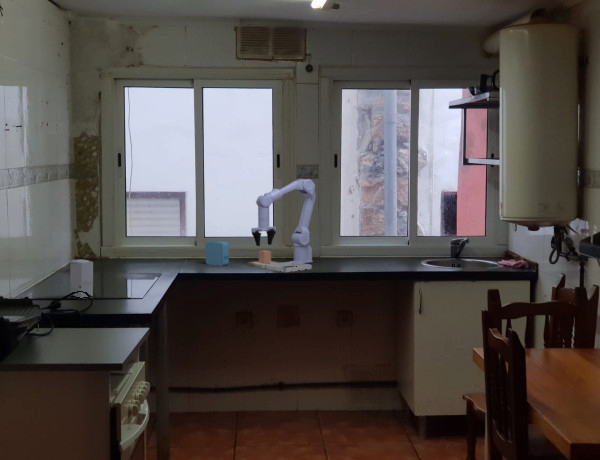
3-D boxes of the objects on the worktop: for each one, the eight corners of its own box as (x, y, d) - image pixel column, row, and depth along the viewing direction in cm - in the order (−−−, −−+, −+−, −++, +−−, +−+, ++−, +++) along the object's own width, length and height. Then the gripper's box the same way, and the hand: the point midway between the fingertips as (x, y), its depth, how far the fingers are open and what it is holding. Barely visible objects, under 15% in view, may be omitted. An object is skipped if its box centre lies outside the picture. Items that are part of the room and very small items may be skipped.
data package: (229, 265, 399) (228, 242, 398) (223, 266, 395) (223, 243, 394) (211, 263, 406) (211, 240, 404) (205, 264, 402) (205, 241, 401)
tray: (292, 265, 398) (292, 261, 398) (311, 268, 386) (311, 264, 386) (265, 268, 386) (265, 264, 386) (284, 272, 375) (284, 268, 374)
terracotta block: (265, 261, 400) (265, 250, 400) (271, 262, 397) (271, 251, 396) (258, 262, 398) (258, 250, 397) (264, 263, 394) (264, 251, 394)
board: (266, 263, 406) (266, 260, 406) (280, 265, 397) (280, 262, 397) (248, 265, 398) (248, 262, 398) (262, 267, 389) (262, 264, 389)
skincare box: (69, 296, 313) (68, 260, 311) (82, 294, 317) (81, 258, 316) (81, 299, 307) (80, 262, 306) (94, 297, 312) (93, 260, 310)
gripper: (269, 217, 403) (270, 243, 405) (247, 219, 394) (247, 245, 395) (278, 218, 398) (278, 244, 399) (256, 220, 389) (256, 246, 390)
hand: (263, 245), depth 397 cm, fingers open, 7 cm apart
